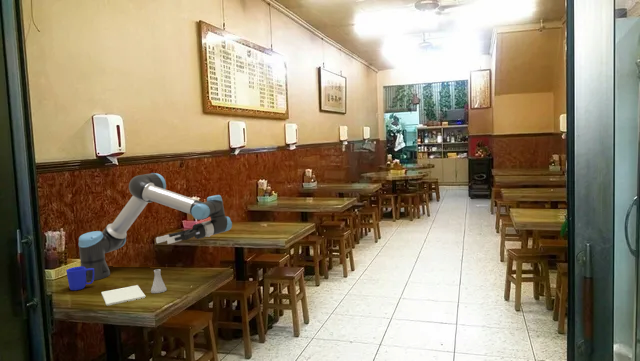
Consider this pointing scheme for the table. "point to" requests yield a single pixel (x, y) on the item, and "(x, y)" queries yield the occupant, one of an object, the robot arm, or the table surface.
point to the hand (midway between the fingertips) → (161, 240)
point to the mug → (78, 277)
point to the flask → (158, 283)
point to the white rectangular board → (122, 295)
